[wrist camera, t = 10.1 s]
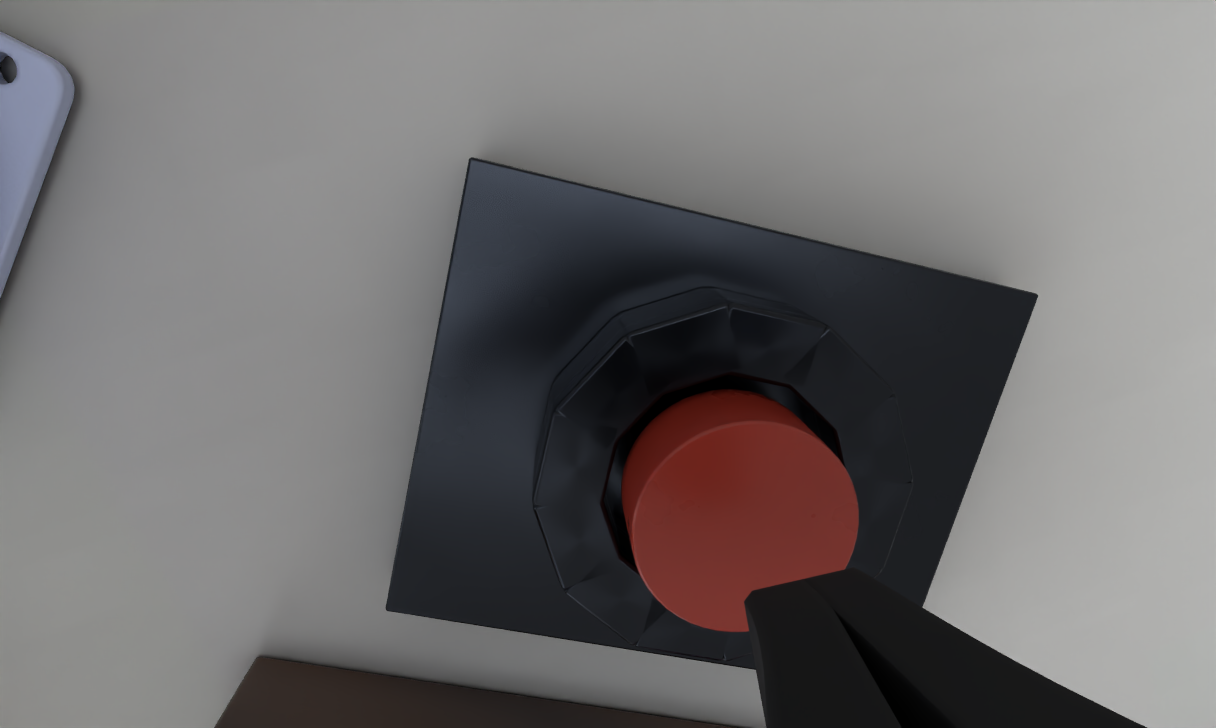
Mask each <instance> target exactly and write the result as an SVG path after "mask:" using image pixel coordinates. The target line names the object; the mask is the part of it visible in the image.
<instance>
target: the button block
mask: <svg viewBox="0 0 1216 728" xmlns="http://www.w3.org/2000/svg"><path fill="white" fill-rule="evenodd" d="M1037 298H1038V295H1037V294H1036V293H1032V292H1028V291H1024V290H1020V289H1016V288H1012V287H1008V286H1004V285H1000V284H995V283H991V282H987V281H983V280H979V279H975V278H971V277H967V276H962V275H958V274H954V273H950V272H946V271H942V270H938V269H933V268H929V267H925V266H921V265H917V264H913V263H909V262H904V261H900V260H896V259H892V258H888V257H884V256H880V255H875V254H871V253H867V252H863V251H859V250H855V249H851V248H847V247H842V246H838V245H834V244H830V243H826V242H822V241H818V240H813V239H809V238H805V237H801V236H797V235H793V234H789V233H784V232H780V231H776V230H772V229H768V228H764V227H760V226H756V225H751V224H747V223H743V222H739V221H735V220H731V219H727V218H722V217H718V216H714V215H710V214H706V213H702V212H698V211H693V210H689V209H685V208H681V207H677V206H673V205H669V204H664V203H660V202H656V201H652V200H648V199H644V198H640V197H636V196H631V195H627V194H623V193H619V192H615V191H611V190H607V189H602V188H598V187H594V186H590V185H586V184H582V183H578V182H573V181H569V180H565V179H561V178H557V177H553V176H549V175H544V174H540V173H536V172H532V171H528V170H524V169H520V168H516V167H511V166H507V165H503V164H499V163H495V162H491V161H487V160H482V159H478V158H473V157H472V158H470V159H469V162H468V167H467V172H466V178H465V183H464V189H463V194H462V199H461V205H460V210H459V216H458V221H457V226H456V232H455V237H454V242H453V248H452V253H451V259H450V264H449V269H448V275H447V280H446V286H445V291H444V296H443V302H442V307H441V312H440V318H439V323H438V329H437V334H436V339H435V345H434V350H433V355H432V361H431V366H430V372H429V377H428V382H427V388H426V393H425V399H424V404H423V409H422V415H421V420H420V425H419V431H418V436H417V442H416V447H415V452H414V458H413V463H412V469H411V474H410V479H409V485H408V490H407V495H406V501H405V506H404V512H403V517H402V522H401V528H400V533H399V538H398V544H397V549H396V555H395V560H394V565H393V571H392V576H391V582H390V587H389V592H388V598H387V603H386V610H387V611H392V612H398V613H404V614H410V615H417V616H423V617H429V618H435V619H442V620H448V621H454V622H460V623H467V624H473V625H479V626H485V627H492V628H498V629H504V630H510V631H517V632H523V633H529V634H535V635H542V636H548V637H554V638H560V639H567V640H573V641H579V642H585V643H592V644H598V645H604V646H611V647H617V648H623V649H629V650H636V651H642V652H648V653H654V654H661V655H667V656H673V657H679V658H686V659H692V660H698V661H704V662H711V663H717V664H723V665H729V666H736V667H742V668H748V669H754V670H756V667H755V661H754V655H753V650H752V644H751V639H750V633H749V631H747V632H726V631H716V630H712V629H708V628H703V627H700V626H698V625H695V624H692V623H690V622H688V621H686V620H684V619H682V618H680V617H678V616H677V615H675V614H674V613H672V612H671V611H669V610H668V609H667V608H665V607H664V606H663V605H662V604H661V603H660V602H659V601H658V600H657V599H656V598H655V597H654V596H653V594H652V593H651V592H650V591H649V589H648V588H647V587H646V585H645V583H644V582H643V580H642V578H641V576H640V574H639V571H638V569H637V567H636V564H635V560H634V556H633V552H632V548H631V543H630V538H629V534H628V529H627V525H626V520H625V516H624V511H623V507H622V498H621V481H622V475H623V470H624V466H625V463H626V460H627V457H628V454H629V452H630V450H631V448H632V446H633V444H634V443H635V441H636V439H637V438H638V436H639V435H640V433H641V432H642V431H643V430H644V429H645V427H646V426H647V425H648V424H649V423H650V422H651V421H652V420H653V419H654V418H655V417H656V416H657V415H659V414H660V413H661V412H663V411H664V410H665V409H667V408H668V407H670V406H671V405H673V404H675V403H677V402H679V401H681V400H682V399H685V398H687V397H690V396H693V395H695V394H699V393H703V392H707V391H712V390H721V389H737V390H744V391H751V392H754V393H758V394H761V395H764V396H767V397H769V398H771V399H773V400H775V401H777V402H779V403H780V404H782V405H784V406H785V407H787V408H788V409H789V410H790V411H791V412H793V413H794V414H795V415H796V416H797V417H798V418H799V419H800V420H801V421H802V422H803V423H804V424H805V425H806V426H807V427H808V428H809V429H810V430H811V431H812V432H813V433H814V434H815V435H816V436H817V437H818V438H819V439H821V440H822V441H823V442H824V443H825V444H826V445H827V446H828V447H829V448H830V449H831V451H832V452H833V453H834V454H835V455H836V456H837V457H838V458H839V460H840V461H841V463H842V464H843V466H844V467H845V468H846V470H847V472H848V474H849V476H850V478H851V480H852V483H853V486H854V489H855V492H856V496H857V502H858V509H859V525H858V533H857V539H856V543H855V546H854V550H853V553H852V555H851V557H850V560H849V562H848V564H847V566H846V568H845V569H849V568H853V567H855V568H857V569H858V570H860V571H862V572H864V573H865V574H867V575H869V576H871V577H872V578H874V579H876V580H877V581H879V582H881V583H882V584H884V585H886V586H887V587H889V588H890V589H892V590H894V591H895V592H897V593H899V594H900V595H902V596H904V597H905V598H907V599H909V600H910V601H912V602H914V603H915V604H917V605H919V606H920V607H923V604H924V602H925V599H926V596H927V593H928V591H929V588H930V585H931V583H932V580H933V577H934V575H935V572H936V569H937V567H938V564H939V561H940V559H941V556H942V553H943V550H944V548H945V545H946V542H947V540H948V537H949V534H950V532H951V529H952V526H953V524H954V521H955V518H956V516H957V513H958V510H959V507H960V505H961V502H962V499H963V497H964V494H965V491H966V489H967V486H968V483H969V481H970V478H971V475H972V472H973V470H974V467H975V464H976V462H977V459H978V456H979V454H980V451H981V448H982V446H983V443H984V440H985V438H986V435H987V432H988V429H989V427H990V424H991V421H992V419H993V416H994V413H995V411H996V408H997V405H998V403H999V400H1000V397H1001V395H1002V392H1003V389H1004V386H1005V384H1006V381H1007V378H1008V376H1009V373H1010V370H1011V368H1012V365H1013V362H1014V360H1015V357H1016V354H1017V352H1018V349H1019V346H1020V343H1021V341H1022V338H1023V335H1024V333H1025V330H1026V327H1027V325H1028V322H1029V319H1030V317H1031V314H1032V311H1033V309H1034V306H1035V303H1036V300H1037Z"/></svg>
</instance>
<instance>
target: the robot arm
mask: <svg viewBox="0 0 1216 728" xmlns="http://www.w3.org/2000/svg"><path fill="white" fill-rule="evenodd" d="M6 56H10V57H11V58H12V59H13V60H14V62H15V64H16V66H17V76H16V78H15V79H14V80H13V82H12V83H8V82H7V81H5V80H4V78H3V76H2V74H1V72H0V298H1V296H2V293H3V290H4V287H5V285H6V282H7V279H8V276H9V274H10V271H11V268H12V266H13V263H14V260H15V257H16V255H17V252H18V249H19V247H20V244H21V241H22V238H23V236H24V233H25V230H26V227H27V225H28V222H29V219H30V217H31V214H32V211H33V208H34V206H35V203H36V200H37V197H38V195H39V192H40V189H41V187H42V184H43V181H44V178H45V176H46V173H47V170H48V168H49V165H50V162H51V159H52V157H53V154H54V151H55V148H56V146H57V143H58V140H59V138H60V135H61V132H62V129H63V127H64V124H65V121H66V119H67V116H68V113H69V110H70V108H71V105H72V102H73V99H74V91H75V88H74V84H73V80H72V77H71V75H70V74H69V72H68V71H67V69H66V68H65V66H63V65H62V64H61V63H59V62H58V61H57V60H55V59H54V58H52V57H50V56H48V55H46V54H44V53H42V52H40V51H38V50H36V49H34V48H32V47H30V46H29V45H27V44H25V43H23V42H21V41H19V40H17V39H15V38H13V37H11V36H9V35H7V34H5V33H3V32H1V31H0V65H1V62H2V60H3V59H4V58H5V57H6ZM744 605H745V611H746V617H747V622H748V628H749V633H750V639H751V644H752V650H753V655H754V661H755V667H756V672H757V678H758V683H759V689H760V694H761V700H762V706H763V711H764V717H765V722H766V728H1147V727H1145V726H1143V725H1140V724H1138V723H1136V722H1134V721H1132V720H1130V719H1128V718H1126V717H1124V716H1122V715H1120V714H1118V713H1116V712H1114V711H1112V710H1109V709H1107V708H1105V707H1103V706H1101V705H1099V704H1097V703H1095V702H1093V701H1091V700H1089V699H1087V698H1085V697H1083V696H1081V695H1079V694H1077V693H1075V692H1073V691H1071V690H1069V689H1067V688H1065V687H1063V686H1061V685H1059V684H1057V683H1055V682H1053V681H1052V680H1050V679H1048V678H1046V677H1044V676H1042V675H1040V674H1038V673H1037V672H1035V671H1033V670H1031V669H1029V668H1027V667H1025V666H1023V665H1021V664H1020V663H1018V662H1016V661H1014V660H1012V659H1010V658H1009V657H1007V656H1005V655H1003V654H1001V653H1000V652H998V651H996V650H994V649H992V648H991V647H989V646H987V645H985V644H984V643H982V642H980V641H978V640H976V639H975V638H973V637H971V636H969V635H968V634H966V633H964V632H963V631H961V630H959V629H957V628H956V627H954V626H952V625H951V624H949V623H947V622H945V621H944V620H942V619H940V618H939V617H937V616H935V615H934V614H932V613H930V612H929V611H927V610H925V609H924V608H922V607H920V606H919V605H917V604H915V603H914V602H912V601H910V600H909V599H907V598H905V597H904V596H902V595H900V594H899V593H897V592H895V591H894V590H892V589H890V588H889V587H887V586H886V585H884V584H882V583H881V582H879V581H877V580H876V579H874V578H872V577H871V576H869V575H867V574H865V573H864V572H862V571H860V570H858V569H857V568H855V567H853V568H849V569H844V570H840V571H836V572H831V573H827V574H822V575H818V576H814V577H809V578H805V579H801V580H796V581H792V582H787V583H783V584H779V585H774V586H770V587H765V588H761V589H757V590H752V591H751V593H750V594H749V595H748V597H747V598H746V599H745V601H744Z"/></svg>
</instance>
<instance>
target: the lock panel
mask: <svg viewBox="0 0 1216 728" xmlns="http://www.w3.org/2000/svg"><path fill="white" fill-rule="evenodd" d="M214 728H735V727H728V726H721V725H715V724H708V723H701V722H694V721H688V720H681V719H674V718H668V717H661V716H654V715H647V714H641V713H634V712H627V711H620V710H614V709H607V708H600V707H594V706H587V705H580V704H573V703H567V702H560V701H553V700H546V699H540V698H533V697H526V696H520V695H513V694H506V693H499V692H493V691H486V690H479V689H472V688H466V687H459V686H452V685H446V684H439V683H432V682H425V681H419V680H412V679H405V678H398V677H392V676H385V675H378V674H371V673H365V672H358V671H351V670H345V669H338V668H331V667H324V666H318V665H311V664H304V663H297V662H291V661H284V660H277V659H271V658H264V657H257V658H256V659H255V661H254V662H253V664H252V666H251V667H250V669H249V671H248V672H247V674H246V675H245V677H244V679H243V680H242V682H241V684H240V685H239V687H238V689H237V690H236V692H235V694H234V695H233V697H232V699H231V700H230V702H229V704H228V705H227V707H226V709H225V710H224V712H223V714H222V715H221V717H220V719H219V720H218V722H217V724H216V725H215V727H214Z"/></svg>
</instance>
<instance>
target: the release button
mask: <svg viewBox="0 0 1216 728" xmlns="http://www.w3.org/2000/svg"><path fill="white" fill-rule="evenodd" d="M621 498H622V507H623V511H624V516H625V520H626V525H627V529H628V534H629V538H630V543H631V548H632V552H633V556H634V560H635V564H636V567H637V569H638V571H639V574H640V576H641V578H642V580H643V582H644V583H645V585H646V587H647V588H648V589H649V591H650V592H651V593H652V594H653V596H654V597H655V598H656V599H657V600H658V601H659V602H660V603H661V604H662V605H663V606H664V607H665V608H667V609H668V610H669V611H671V612H672V613H674V614H675V615H677V616H678V617H680V618H682V619H684V620H686V621H688V622H690V623H692V624H695V625H698V626H700V627H703V628H708V629H712V630H716V631H726V632H747V631H749V628H748V622H747V617H746V611H745V605H744V601H745V599H746V598H747V597H748V595H749V594H750V593H751V591H752V590H757V589H761V588H765V587H770V586H774V585H779V584H783V583H787V582H792V581H796V580H801V579H805V578H809V577H814V576H818V575H822V574H827V573H831V572H836V571H840V570H844V569H845V568H846V566H847V564H848V562H849V560H850V557H851V555H852V553H853V550H854V546H855V543H856V539H857V533H858V525H859V509H858V502H857V496H856V492H855V489H854V486H853V483H852V480H851V478H850V476H849V474H848V472H847V470H846V468H845V467H844V466H843V464H842V463H841V461H840V460H839V458H838V457H837V456H836V455H835V454H834V453H833V452H832V451H831V449H830V448H829V447H828V446H827V445H826V444H825V443H824V442H823V441H822V440H821V439H819V438H818V437H817V436H816V435H815V434H814V433H813V432H812V431H811V430H810V429H809V428H808V427H807V426H806V425H805V424H804V423H803V422H802V421H801V420H800V419H799V418H798V417H797V416H796V415H795V414H794V413H793V412H791V411H790V410H789V409H788V408H787V407H785V406H784V405H782V404H780V403H779V402H777V401H775V400H773V399H771V398H769V397H767V396H764V395H761V394H758V393H754V392H751V391H744V390H737V389H721V390H712V391H707V392H703V393H699V394H695V395H693V396H690V397H687V398H685V399H682V400H681V401H679V402H677V403H675V404H673V405H671V406H670V407H668V408H667V409H665V410H664V411H663V412H661V413H660V414H659V415H657V416H656V417H655V418H654V419H653V420H652V421H651V422H650V423H649V424H648V425H647V426H646V427H645V429H644V430H643V431H642V432H641V433H640V435H639V436H638V438H637V439H636V441H635V443H634V444H633V446H632V448H631V450H630V452H629V454H628V457H627V460H626V463H625V466H624V470H623V475H622V481H621Z"/></svg>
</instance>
